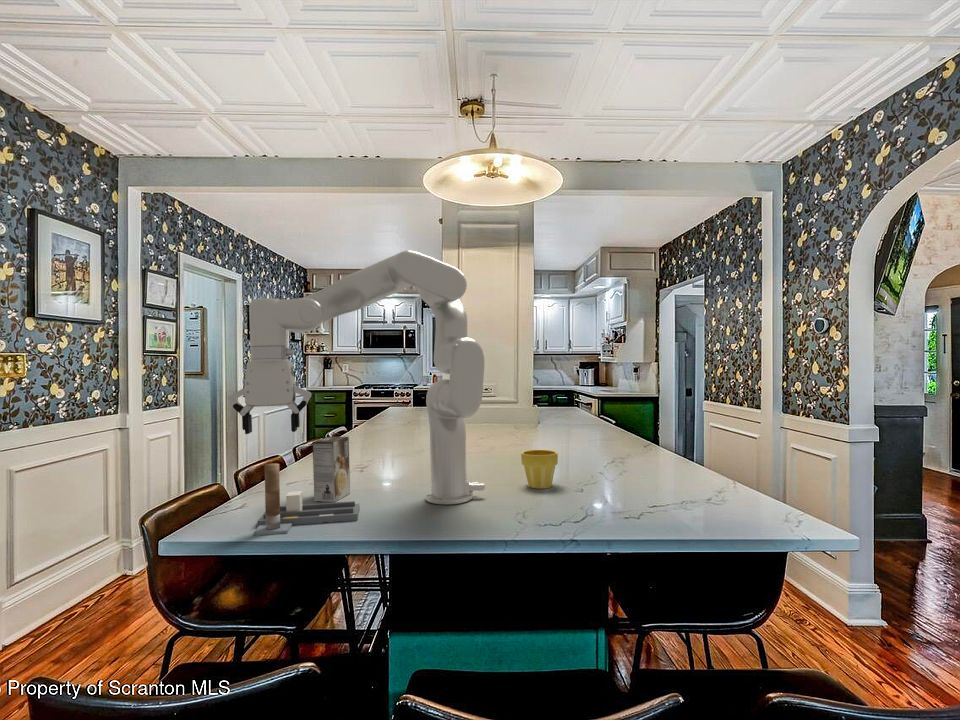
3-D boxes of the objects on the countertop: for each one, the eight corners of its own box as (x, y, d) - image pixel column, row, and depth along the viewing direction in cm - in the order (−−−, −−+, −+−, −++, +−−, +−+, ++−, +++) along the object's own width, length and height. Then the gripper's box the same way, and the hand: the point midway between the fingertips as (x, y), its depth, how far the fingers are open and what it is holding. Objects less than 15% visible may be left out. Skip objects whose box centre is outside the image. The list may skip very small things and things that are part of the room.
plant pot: (533, 480, 158) (532, 447, 158) (564, 484, 152) (563, 450, 152) (515, 487, 149) (514, 453, 149) (547, 492, 143) (546, 456, 143)
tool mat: (291, 525, 119) (291, 523, 119) (287, 532, 114) (287, 530, 114) (259, 528, 118) (259, 525, 118) (253, 535, 113) (253, 532, 113)
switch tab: (302, 509, 126) (302, 491, 126) (299, 513, 122) (299, 495, 122) (289, 510, 125) (289, 491, 125) (286, 514, 122) (286, 495, 122)
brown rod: (281, 525, 118) (280, 463, 117) (278, 529, 115) (277, 465, 114) (267, 526, 117) (266, 463, 117) (264, 530, 114) (263, 466, 114)
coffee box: (329, 492, 148) (328, 436, 148) (350, 493, 147) (349, 436, 147) (313, 501, 139) (311, 441, 139) (335, 502, 138) (334, 441, 138)
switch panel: (359, 509, 131) (359, 499, 131) (357, 520, 122) (357, 509, 122) (266, 515, 127) (266, 505, 127) (257, 527, 118) (257, 516, 118)
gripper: (312, 353, 121) (314, 427, 121) (232, 356, 118) (235, 431, 118) (307, 353, 114) (309, 432, 114) (222, 355, 111) (224, 436, 111)
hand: (271, 432), depth 116 cm, fingers open, 9 cm apart
